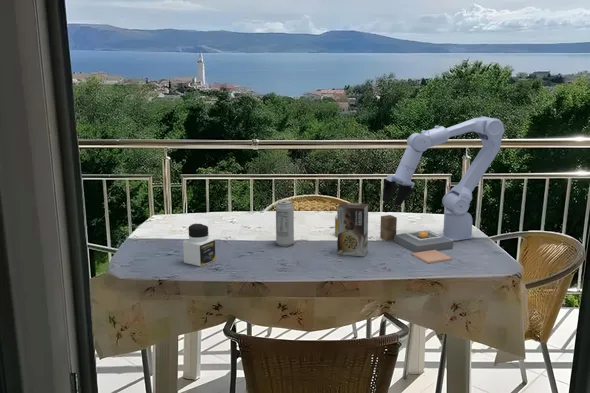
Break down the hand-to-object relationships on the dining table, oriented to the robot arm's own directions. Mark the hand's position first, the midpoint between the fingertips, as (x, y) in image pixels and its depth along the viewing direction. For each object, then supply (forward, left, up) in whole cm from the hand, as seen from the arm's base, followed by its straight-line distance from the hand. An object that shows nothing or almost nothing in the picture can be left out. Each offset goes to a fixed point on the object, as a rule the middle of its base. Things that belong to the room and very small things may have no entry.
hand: (391, 203), depth 197 cm
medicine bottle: (+67, -4, -14) cm, 68 cm away
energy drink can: (+36, -10, -14) cm, 39 cm away
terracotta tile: (-2, +21, -13) cm, 25 cm away
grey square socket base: (-7, +9, -13) cm, 18 cm away
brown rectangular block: (0, -2, -13) cm, 13 cm away
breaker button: (-7, +9, -11) cm, 16 cm away
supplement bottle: (+13, -12, -14) cm, 22 cm away
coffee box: (+19, +7, -14) cm, 24 cm away
